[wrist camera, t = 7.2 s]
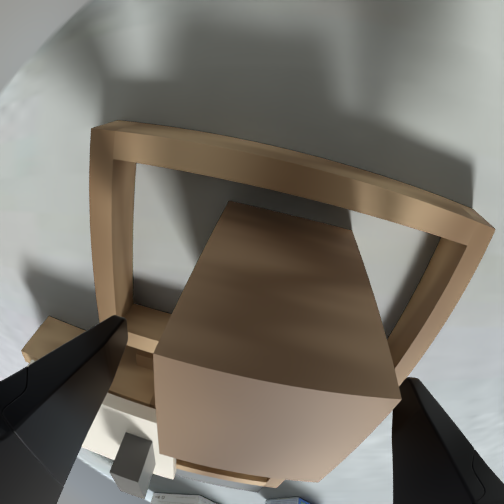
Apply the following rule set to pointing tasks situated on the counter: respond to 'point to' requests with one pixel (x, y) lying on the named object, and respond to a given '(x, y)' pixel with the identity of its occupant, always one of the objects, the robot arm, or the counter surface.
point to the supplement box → (178, 499)
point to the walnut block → (273, 351)
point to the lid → (129, 444)
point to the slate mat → (217, 481)
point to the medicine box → (287, 501)
